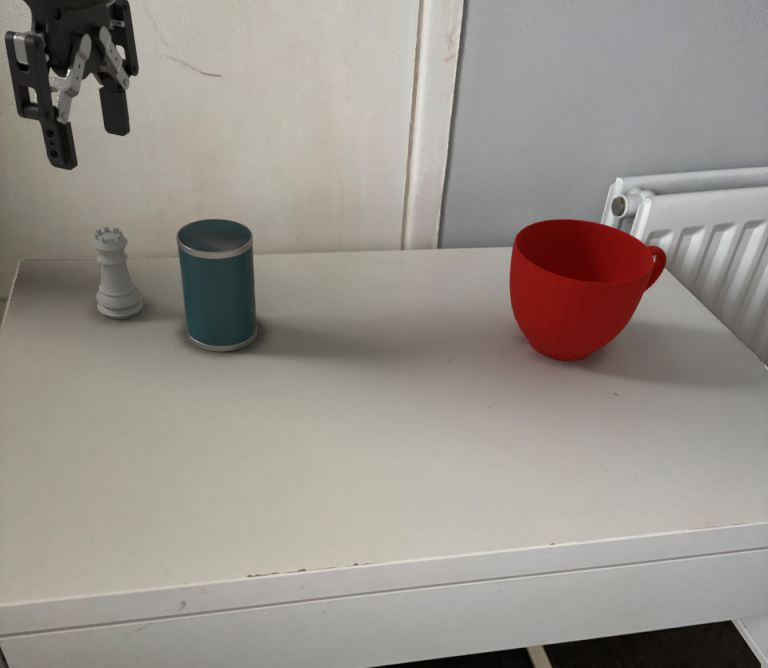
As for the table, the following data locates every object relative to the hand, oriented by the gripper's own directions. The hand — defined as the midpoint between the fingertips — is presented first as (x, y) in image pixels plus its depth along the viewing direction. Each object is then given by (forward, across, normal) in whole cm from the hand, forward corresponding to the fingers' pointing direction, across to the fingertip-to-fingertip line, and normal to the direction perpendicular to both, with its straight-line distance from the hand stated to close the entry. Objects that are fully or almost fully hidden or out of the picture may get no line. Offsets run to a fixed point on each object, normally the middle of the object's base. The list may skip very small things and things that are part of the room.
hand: (92, 149), depth 72 cm
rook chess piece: (+16, 0, 0) cm, 16 cm away
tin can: (+15, 0, +11) cm, 19 cm away
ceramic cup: (+15, -13, +44) cm, 49 cm away
